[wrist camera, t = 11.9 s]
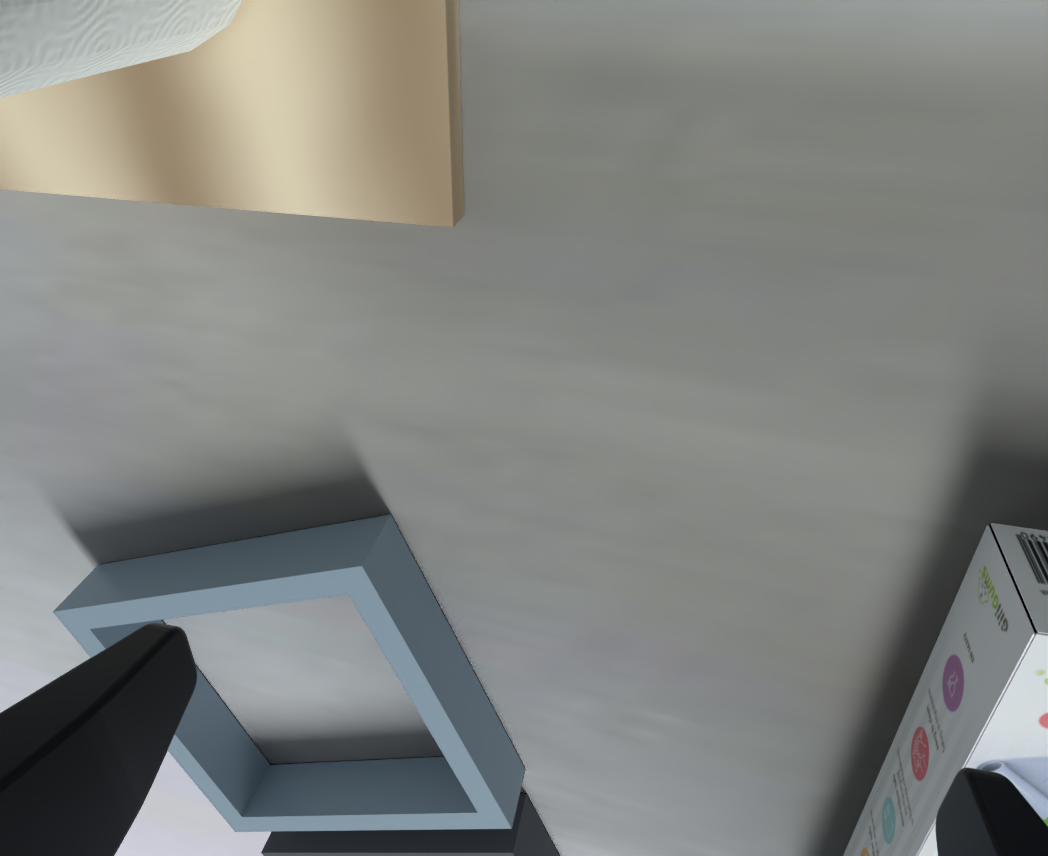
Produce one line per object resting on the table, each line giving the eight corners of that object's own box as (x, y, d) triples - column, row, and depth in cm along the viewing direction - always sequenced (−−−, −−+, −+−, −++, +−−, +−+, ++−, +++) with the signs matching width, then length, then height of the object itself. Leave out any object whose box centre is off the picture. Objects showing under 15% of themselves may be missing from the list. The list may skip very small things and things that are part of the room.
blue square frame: (390, 514, 26) (361, 566, 24) (525, 769, 32) (511, 828, 30) (98, 564, 30) (52, 611, 28) (263, 779, 36) (235, 831, 34)
